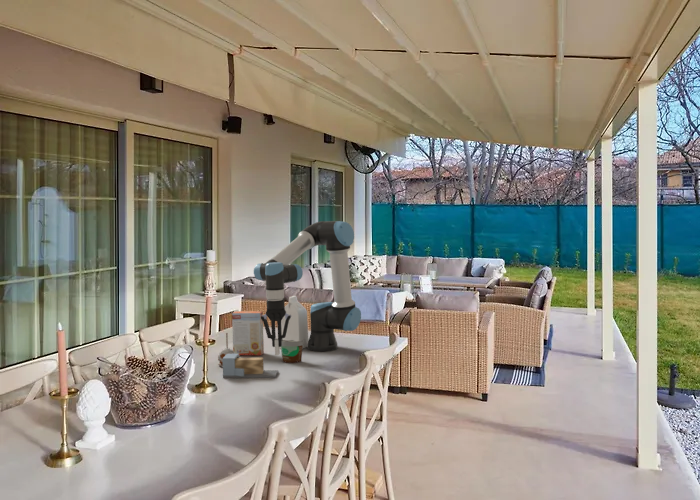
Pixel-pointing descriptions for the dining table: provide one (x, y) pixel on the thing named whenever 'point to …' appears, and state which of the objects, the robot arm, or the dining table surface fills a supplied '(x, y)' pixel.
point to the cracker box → (248, 332)
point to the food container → (291, 351)
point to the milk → (296, 322)
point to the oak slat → (250, 365)
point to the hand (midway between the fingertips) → (277, 354)
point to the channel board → (265, 375)
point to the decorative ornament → (224, 352)
